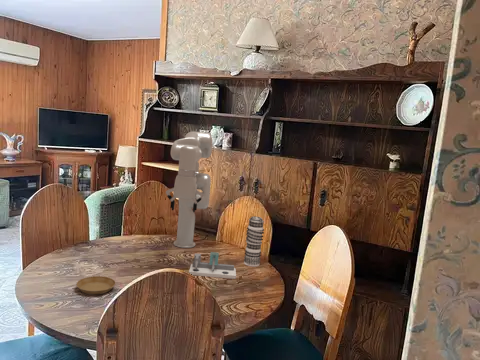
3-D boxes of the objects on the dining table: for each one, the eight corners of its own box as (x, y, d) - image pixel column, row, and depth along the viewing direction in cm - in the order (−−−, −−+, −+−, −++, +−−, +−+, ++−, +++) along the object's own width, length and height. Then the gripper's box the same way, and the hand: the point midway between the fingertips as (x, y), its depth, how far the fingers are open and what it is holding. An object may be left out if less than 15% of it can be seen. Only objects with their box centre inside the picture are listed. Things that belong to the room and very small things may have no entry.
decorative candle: (259, 267, 198) (264, 220, 195) (241, 264, 200) (246, 218, 197) (261, 262, 207) (266, 217, 204) (244, 259, 209) (249, 214, 206)
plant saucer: (102, 279, 166) (102, 273, 165) (122, 290, 156) (122, 284, 156) (69, 287, 154) (69, 281, 154) (88, 300, 145) (88, 294, 145)
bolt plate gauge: (190, 267, 189) (192, 252, 189) (235, 271, 190) (236, 256, 189) (188, 274, 180) (190, 259, 179) (235, 278, 181) (237, 263, 180)
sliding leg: (209, 265, 189) (210, 251, 188) (217, 265, 189) (218, 252, 188) (208, 270, 182) (209, 256, 181) (217, 271, 182) (218, 257, 181)
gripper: (206, 174, 178) (202, 210, 180) (168, 170, 178) (165, 207, 180) (205, 176, 171) (201, 214, 173) (165, 172, 170) (162, 210, 172)
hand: (183, 210), depth 176 cm, fingers open, 9 cm apart
